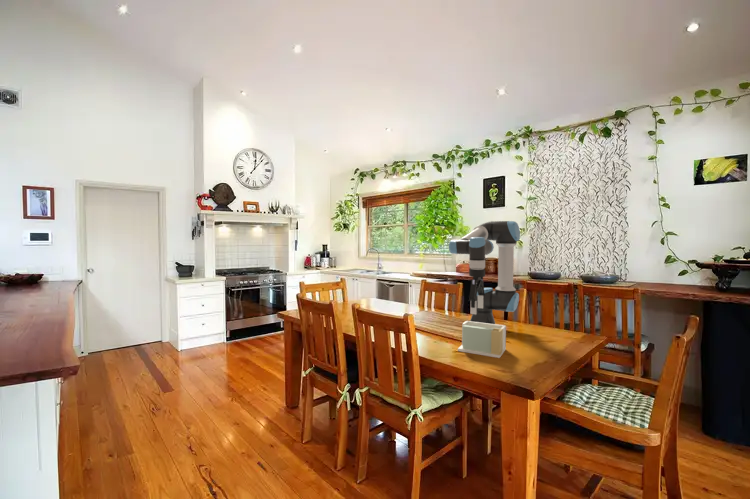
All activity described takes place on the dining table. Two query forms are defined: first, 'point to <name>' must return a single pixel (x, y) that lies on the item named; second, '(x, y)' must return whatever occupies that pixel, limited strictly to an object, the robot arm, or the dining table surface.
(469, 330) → the door
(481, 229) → the robot arm
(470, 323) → the box
